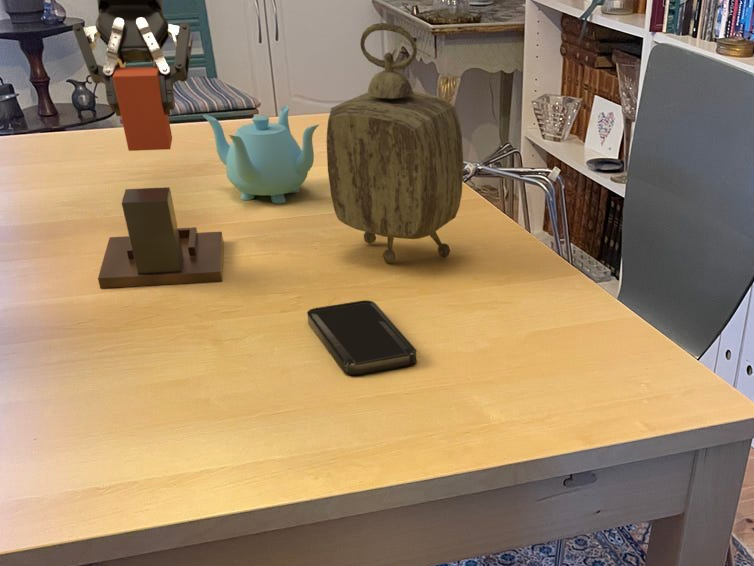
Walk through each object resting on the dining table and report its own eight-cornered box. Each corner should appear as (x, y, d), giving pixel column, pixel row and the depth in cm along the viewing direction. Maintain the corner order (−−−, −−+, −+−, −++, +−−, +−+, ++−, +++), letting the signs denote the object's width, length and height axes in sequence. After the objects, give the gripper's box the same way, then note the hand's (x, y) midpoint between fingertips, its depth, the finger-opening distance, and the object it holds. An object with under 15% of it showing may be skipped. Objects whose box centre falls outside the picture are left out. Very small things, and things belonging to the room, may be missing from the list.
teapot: (240, 214, 130) (227, 133, 123) (212, 187, 139) (199, 111, 132) (327, 200, 135) (320, 122, 128) (295, 175, 143) (287, 101, 136)
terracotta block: (128, 151, 115) (112, 76, 109) (131, 140, 118) (116, 67, 113) (170, 149, 116) (156, 75, 110) (172, 138, 119) (158, 66, 114)
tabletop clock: (463, 255, 119) (463, 23, 102) (432, 280, 113) (426, 37, 96) (364, 237, 123) (348, 12, 107) (328, 260, 117) (306, 24, 101)
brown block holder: (100, 288, 110) (78, 206, 104) (111, 246, 120) (92, 169, 114) (222, 281, 112) (208, 200, 106) (223, 240, 122) (210, 164, 116)
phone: (346, 366, 93) (304, 309, 103) (347, 377, 94) (305, 319, 104) (420, 353, 95) (372, 298, 105) (420, 363, 96) (373, 308, 106)
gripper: (55, -48, 109) (71, 93, 108) (182, -49, 111) (199, 90, 110) (74, -1, 116) (88, 132, 115) (192, -2, 118) (207, 128, 118)
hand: (142, 111), depth 113 cm, fingers closed on terracotta block, 5 cm apart
